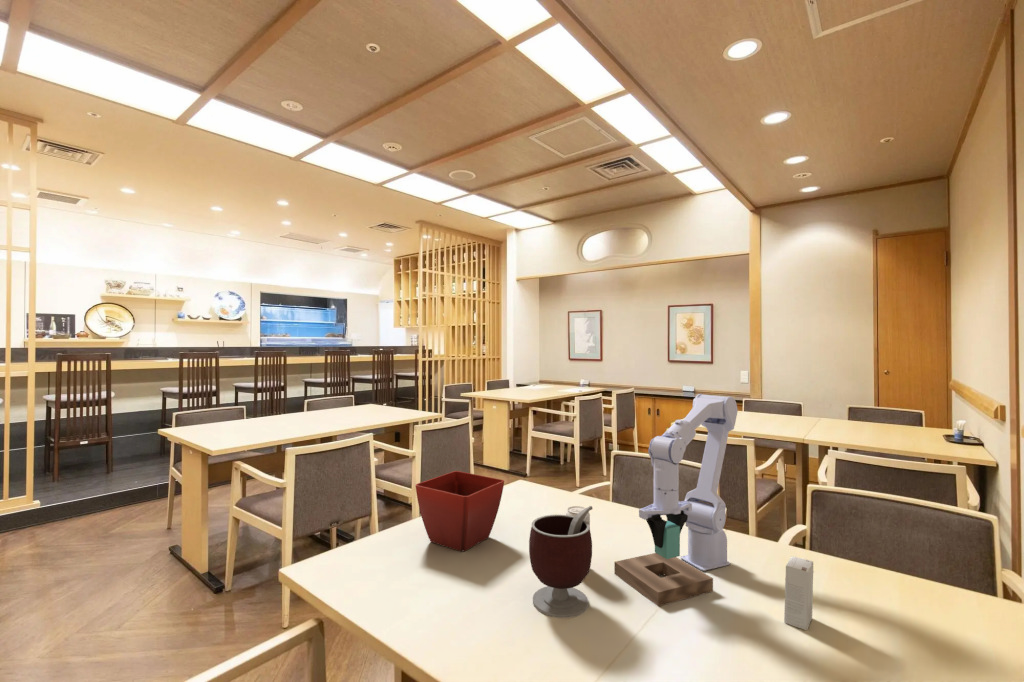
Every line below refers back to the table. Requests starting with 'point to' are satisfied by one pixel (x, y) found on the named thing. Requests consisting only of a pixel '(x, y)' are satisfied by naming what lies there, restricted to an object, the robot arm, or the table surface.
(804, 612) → the skincare box
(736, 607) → the table surface
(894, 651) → the table surface
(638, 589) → the holder block
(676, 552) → the teal peg
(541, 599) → the mate gourd
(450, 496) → the plant pot
